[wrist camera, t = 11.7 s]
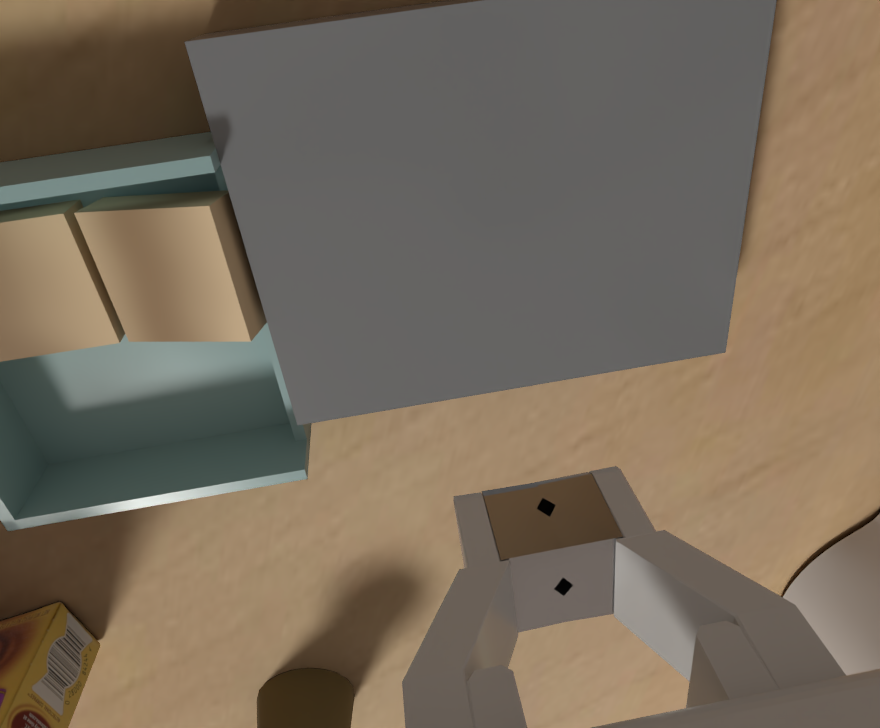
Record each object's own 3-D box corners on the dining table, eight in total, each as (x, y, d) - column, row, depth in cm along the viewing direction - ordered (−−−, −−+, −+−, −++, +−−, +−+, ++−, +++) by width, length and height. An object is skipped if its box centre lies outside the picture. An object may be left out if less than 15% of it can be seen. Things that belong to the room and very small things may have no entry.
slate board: (731, -39, 22) (782, -42, 19) (692, 319, 29) (725, 352, 27) (203, 34, 21) (184, 42, 18) (301, 385, 28) (297, 425, 26)
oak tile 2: (-93, 236, 21) (-66, 220, 22) (-18, 364, 23) (2, 343, 25) (63, 213, 21) (80, 199, 22) (119, 342, 24) (131, 323, 25)
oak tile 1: (231, 189, 21) (209, 205, 20) (268, 320, 24) (250, 341, 23) (103, 197, 23) (74, 212, 21) (152, 321, 25) (128, 341, 24)
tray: (230, 128, 22) (209, 155, 19) (311, 420, 29) (307, 478, 26) (-120, 179, 22) (-205, 217, 18) (47, 466, 29) (7, 531, 25)
